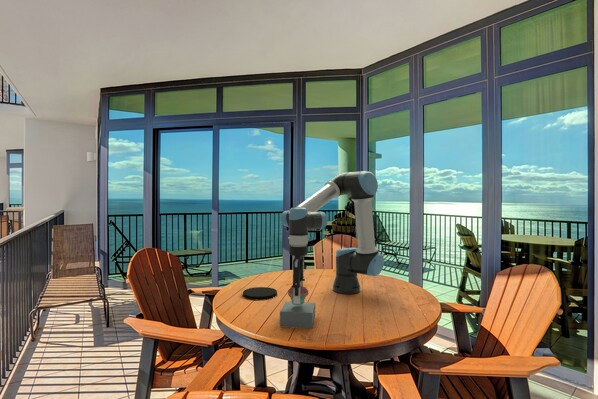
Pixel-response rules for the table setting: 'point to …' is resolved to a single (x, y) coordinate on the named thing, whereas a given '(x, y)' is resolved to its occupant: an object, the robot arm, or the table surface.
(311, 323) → the plinth
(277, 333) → the table surface
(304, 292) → the cupcake
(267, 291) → the wireless charger
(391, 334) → the table surface
